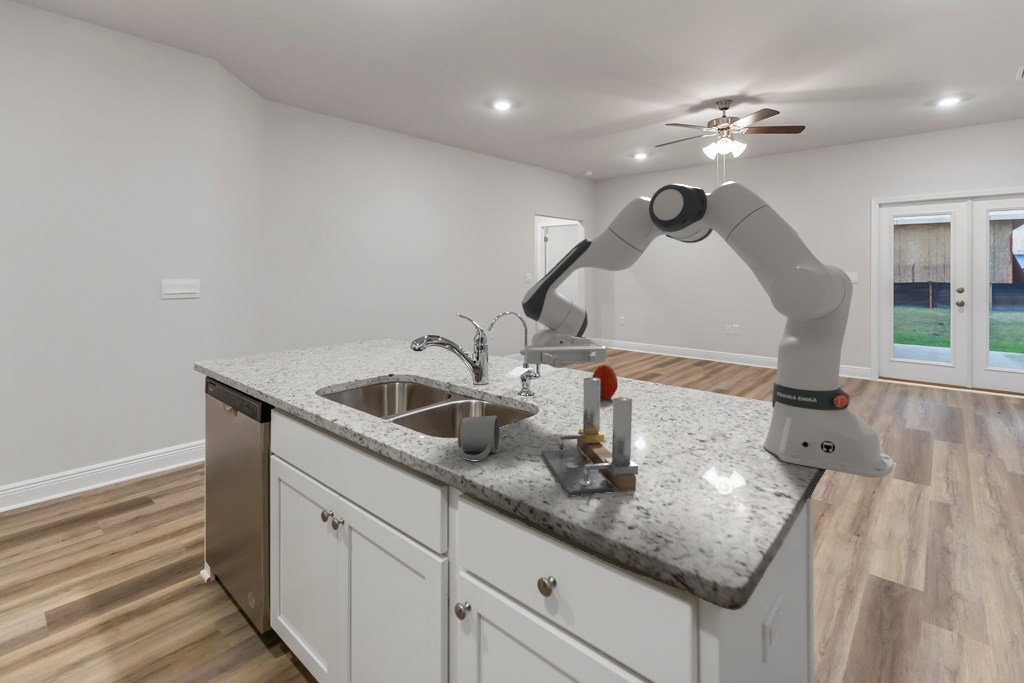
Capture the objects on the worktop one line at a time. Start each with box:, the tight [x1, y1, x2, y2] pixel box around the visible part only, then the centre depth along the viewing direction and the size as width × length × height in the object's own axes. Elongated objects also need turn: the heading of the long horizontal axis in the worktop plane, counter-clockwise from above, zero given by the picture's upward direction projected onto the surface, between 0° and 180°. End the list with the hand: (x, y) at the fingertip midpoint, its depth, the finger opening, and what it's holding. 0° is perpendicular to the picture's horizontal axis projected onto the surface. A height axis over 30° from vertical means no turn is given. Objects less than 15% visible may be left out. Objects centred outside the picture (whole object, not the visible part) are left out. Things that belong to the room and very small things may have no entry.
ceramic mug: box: [457, 415, 501, 461], centre depth 104 cm, size 11×8×8 cm
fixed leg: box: [584, 396, 639, 481], centre depth 87 cm, size 4×9×14 cm, turn 100°
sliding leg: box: [558, 377, 605, 450], centre depth 102 cm, size 4×9×14 cm, turn 100°
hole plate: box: [540, 447, 615, 497], centre depth 94 cm, size 20×8×1 cm, turn 10°
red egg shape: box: [591, 363, 619, 401], centre depth 149 cm, size 8×8×11 cm
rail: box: [576, 439, 637, 492], centre depth 97 cm, size 24×3×2 cm, turn 10°
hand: (573, 359), depth 114 cm, fingers open, 8 cm apart
